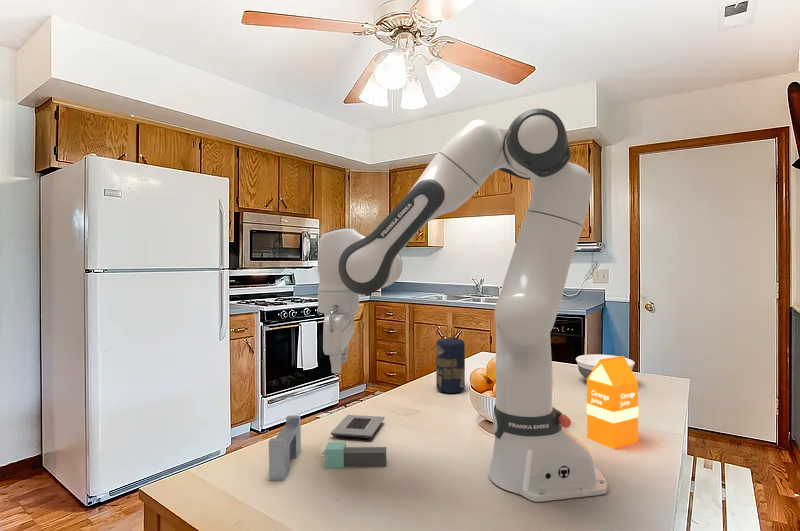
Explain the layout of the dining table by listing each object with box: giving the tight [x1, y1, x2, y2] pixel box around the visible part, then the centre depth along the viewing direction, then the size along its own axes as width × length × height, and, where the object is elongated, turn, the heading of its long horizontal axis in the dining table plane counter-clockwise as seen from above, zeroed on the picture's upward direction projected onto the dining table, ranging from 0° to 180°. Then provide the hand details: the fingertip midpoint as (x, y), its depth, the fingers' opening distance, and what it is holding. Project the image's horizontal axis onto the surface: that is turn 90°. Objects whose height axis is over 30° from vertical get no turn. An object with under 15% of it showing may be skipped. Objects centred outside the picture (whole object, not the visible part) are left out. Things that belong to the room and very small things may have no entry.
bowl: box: [575, 353, 636, 380], centre depth 161 cm, size 19×19×8 cm
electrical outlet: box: [330, 414, 385, 439], centre depth 120 cm, size 13×10×2 cm
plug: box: [319, 441, 387, 469], centre depth 101 cm, size 14×4×4 cm, turn 89°
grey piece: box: [268, 415, 302, 481], centre depth 101 cm, size 3×15×8 cm, turn 179°
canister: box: [435, 336, 466, 394], centre depth 154 cm, size 10×10×18 cm
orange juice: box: [586, 355, 639, 450], centre depth 112 cm, size 8×9×20 cm
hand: (339, 367), depth 101 cm, fingers open, 8 cm apart
